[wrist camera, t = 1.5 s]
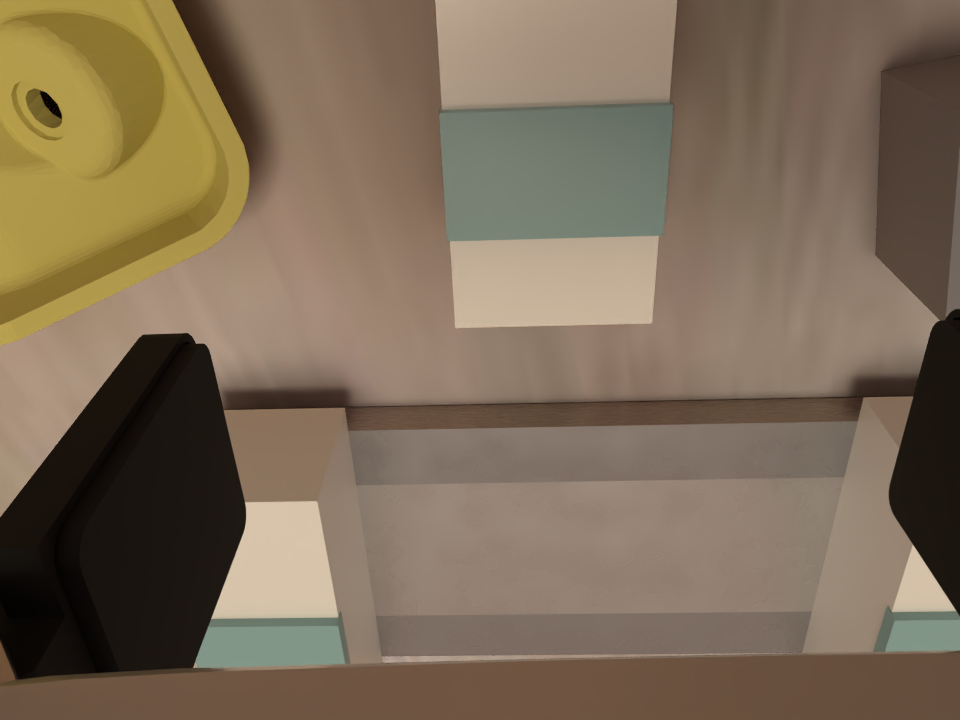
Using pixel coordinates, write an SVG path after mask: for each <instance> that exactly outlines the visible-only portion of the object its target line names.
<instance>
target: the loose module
mask: <svg viewBox="0 0 960 720" xmlns="http://www.w3.org/2000/svg"><path fill="white" fill-rule="evenodd" d="M435 3H436V20H437V36H438V52H439V69H440V85H441V101H442V108H440V111H439V123H440V139H441V154H442V170H443V186H444V202H445V217H446V233H447V241H450V248H451V264H452V280H453V297H454V313H455V328H475V327H518V326H561V325H604V324H647V323H652V316H653V303H654V290H655V277H656V265H657V252H658V239H659V236H663V235H664V222H665V210H666V198H667V186H668V173H669V161H670V149H671V136H672V124H673V112H674V105H673V103H672V102H671V101H670V100H669V99H670V86H671V73H672V61H673V48H674V35H675V22H676V9H677V0H435Z"/></svg>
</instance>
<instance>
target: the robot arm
mask: <svg viewBox="0 0 960 720" xmlns="http://www.w3.org/2000/svg"><path fill="white" fill-rule="evenodd" d="M889 504H890V507H891V511H892V513H893V515H894V517H895V518H896V520H897V521H898V523H899V524H900V526H901V527H902V529H903V530H904V532H905V533H906V535H907V536H908V538H909V540H910V541H911V543H912V544H913V546H914V547H915V549H916V550H917V552H918V553H919V555H920V556H921V558H922V559H923V561H924V562H925V564H926V566H927V567H928V569H929V570H930V572H931V573H932V575H933V576H934V578H935V579H936V581H937V582H938V584H939V585H940V587H941V588H942V590H943V591H944V593H945V595H946V596H947V598H948V599H949V601H950V602H951V604H952V605H953V607H954V608H955V610H956V611H957V613H958V614H959V616H960V309H955V310H953V311H951V312H950V313H949V315H948V316H947V317H946V319H945V320H942V321H938V322H937V323H936V324H935V325H934V326H933V328H932V331H931V333H930V337H929V340H928V344H927V348H926V352H925V355H924V359H923V363H922V366H921V370H920V374H919V377H918V381H917V385H916V389H915V392H914V396H913V400H912V403H911V407H910V411H909V415H908V418H907V422H906V426H905V429H904V433H903V437H902V441H901V444H900V448H899V452H898V455H897V459H896V463H895V467H894V470H893V474H892V478H891V481H890V485H889ZM245 525H246V505H245V500H244V495H243V491H242V487H241V483H240V478H239V474H238V470H237V466H236V461H235V457H234V453H233V448H232V444H231V440H230V436H229V431H228V427H227V423H226V419H225V414H224V410H223V406H222V401H221V397H220V393H219V389H218V384H217V380H216V376H215V372H214V367H213V363H212V359H211V355H210V352H209V349H208V347H207V346H206V345H205V344H196V343H195V341H194V339H193V338H192V336H191V335H189V334H188V333H182V334H150V335H142V336H141V337H140V338H139V339H138V340H137V341H136V343H135V344H134V345H133V347H132V348H131V349H130V350H129V352H128V353H127V354H126V356H125V357H124V358H123V360H122V361H121V362H120V363H119V365H118V366H117V367H116V369H115V370H114V371H113V372H112V374H111V375H110V376H109V378H108V379H107V380H106V382H105V383H104V384H103V385H102V387H101V388H100V389H99V391H98V392H97V393H96V394H95V396H94V397H93V398H92V400H91V401H90V402H89V403H88V405H87V406H86V407H85V409H84V410H83V411H82V413H81V414H80V415H79V416H78V418H77V419H76V420H75V422H74V423H73V424H72V425H71V427H70V428H69V429H68V431H67V432H66V433H65V435H64V436H63V437H62V438H61V440H60V441H59V442H58V444H57V445H56V446H55V447H54V449H53V450H52V451H51V453H50V454H49V455H48V456H47V458H46V459H45V460H44V462H43V463H42V464H41V466H40V467H39V468H38V469H37V471H36V472H35V473H34V475H33V476H32V477H31V478H30V480H29V481H28V482H27V484H26V485H25V486H24V488H23V489H22V490H21V491H20V493H19V494H18V495H17V497H16V498H15V499H14V500H13V502H12V503H11V504H10V506H9V507H8V508H7V509H6V511H5V512H4V513H3V515H2V516H1V517H0V720H960V650H952V651H895V652H842V653H790V654H742V655H694V656H648V657H604V658H560V659H516V660H478V661H439V662H401V663H364V664H327V665H291V666H254V667H217V668H193V666H194V663H195V661H196V658H197V655H198V653H199V650H200V648H201V645H202V642H203V640H204V637H205V634H206V632H207V629H208V626H209V624H210V621H211V618H212V616H213V613H214V610H215V608H216V605H217V602H218V600H219V597H220V594H221V592H222V589H223V586H224V584H225V581H226V578H227V576H228V573H229V570H230V568H231V565H232V562H233V560H234V557H235V554H236V552H237V549H238V546H239V544H240V541H241V538H242V536H243V533H244V530H245Z"/></svg>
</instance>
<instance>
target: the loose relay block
mask: <svg viewBox="0 0 960 720" xmlns="http://www.w3.org/2000/svg"><path fill="white" fill-rule="evenodd" d="M876 256H877V257H878V258H879V259H880V260H881V261H882V262H883V263H884V264H885V265H886V266H887V267H888V268H889V269H890V270H891V271H892V272H893V273H894V274H895V276H896V277H897V278H898V279H899V280H900V281H901V282H902V283H903V284H904V285H905V286H906V287H907V288H908V289H909V290H910V291H911V292H912V293H913V294H914V295H915V296H916V297H917V298H918V299H919V300H920V301H921V302H922V303H923V304H924V305H925V306H926V307H927V308H928V309H929V310H930V311H931V312H932V313H933V314H934V315H935V316H936V317H937V318H938V319H939V320H940V321H942V320H945V319H946V317H947V316H948V315H949V313H950V312H951V311H953V310H955V309H960V55H958V56H953V57H948V58H944V59H939V60H934V61H929V62H924V63H919V64H915V65H910V66H905V67H900V68H895V69H891V70H886V71H881V101H880V133H879V164H878V196H877V227H876Z"/></svg>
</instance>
